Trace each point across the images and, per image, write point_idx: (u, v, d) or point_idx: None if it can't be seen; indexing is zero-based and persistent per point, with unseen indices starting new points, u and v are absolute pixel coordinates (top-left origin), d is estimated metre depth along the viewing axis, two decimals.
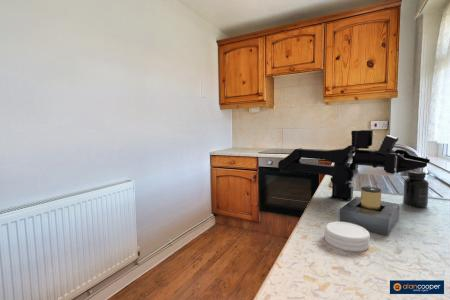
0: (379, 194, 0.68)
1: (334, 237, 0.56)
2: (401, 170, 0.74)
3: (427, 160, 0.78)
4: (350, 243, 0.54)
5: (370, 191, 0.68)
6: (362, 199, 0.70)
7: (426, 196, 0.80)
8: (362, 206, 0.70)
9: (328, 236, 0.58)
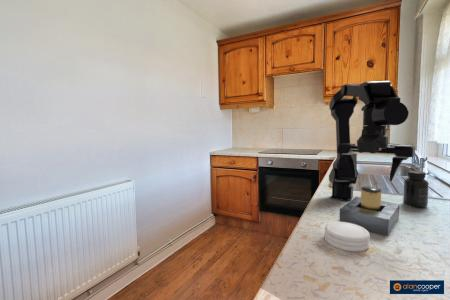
0: (379, 194, 0.68)
1: (334, 237, 0.56)
2: None
3: (390, 178, 0.67)
4: (350, 243, 0.54)
5: (370, 191, 0.68)
6: (362, 199, 0.70)
7: (426, 196, 0.80)
8: (362, 206, 0.70)
9: (328, 236, 0.58)
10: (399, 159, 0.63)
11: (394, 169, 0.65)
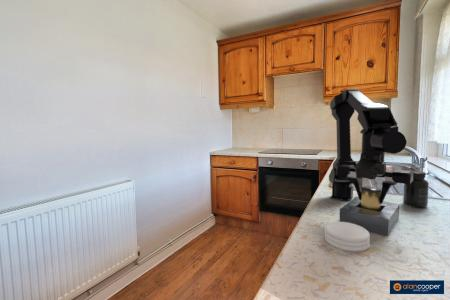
0: (379, 194, 0.68)
1: (334, 237, 0.56)
2: None
3: (380, 201, 0.69)
4: (350, 243, 0.54)
5: (370, 191, 0.68)
6: (362, 199, 0.70)
7: (426, 196, 0.80)
8: (362, 206, 0.70)
9: (328, 236, 0.58)
10: (388, 184, 0.65)
11: (384, 193, 0.67)
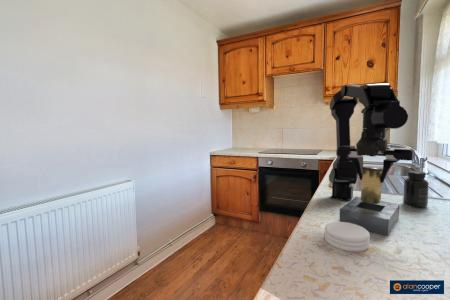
0: (380, 173, 0.67)
1: (334, 237, 0.56)
2: None
3: None
4: (350, 243, 0.54)
5: (371, 170, 0.67)
6: (363, 178, 0.70)
7: (426, 196, 0.80)
8: (363, 186, 0.70)
9: (328, 236, 0.58)
10: (390, 162, 0.64)
11: (385, 171, 0.66)
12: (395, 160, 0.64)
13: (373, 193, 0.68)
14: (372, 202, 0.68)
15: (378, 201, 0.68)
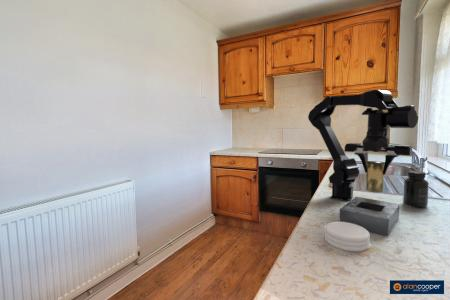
0: (383, 166, 0.79)
1: (334, 237, 0.56)
2: None
3: None
4: (350, 243, 0.54)
5: (375, 163, 0.79)
6: (368, 171, 0.81)
7: (426, 196, 0.80)
8: (368, 177, 0.81)
9: (328, 236, 0.58)
10: (391, 156, 0.75)
11: (387, 165, 0.78)
12: (395, 155, 0.75)
13: (376, 183, 0.79)
14: (375, 191, 0.79)
15: (381, 190, 0.79)
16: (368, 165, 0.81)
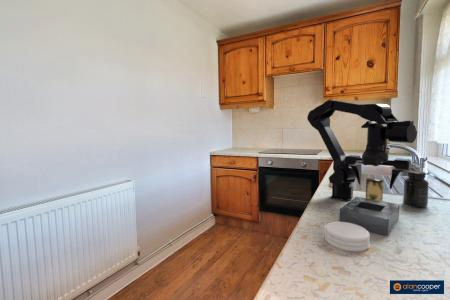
0: (382, 184, 0.79)
1: (334, 237, 0.56)
2: None
3: (390, 187, 0.78)
4: (350, 243, 0.54)
5: (374, 181, 0.79)
6: (367, 188, 0.82)
7: (426, 196, 0.80)
8: (367, 194, 0.82)
9: (328, 236, 0.58)
10: (397, 171, 0.74)
11: (393, 179, 0.77)
12: (402, 170, 0.74)
13: None
14: None
15: None
16: (367, 183, 0.81)
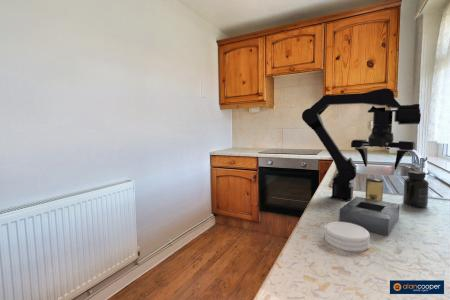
0: (381, 184, 0.79)
1: (334, 237, 0.56)
2: None
3: None
4: (350, 243, 0.54)
5: (374, 181, 0.79)
6: (367, 188, 0.82)
7: (426, 196, 0.80)
8: (367, 194, 0.82)
9: (328, 236, 0.58)
10: (402, 152, 0.79)
11: (398, 160, 0.81)
12: (406, 150, 0.78)
13: None
14: None
15: None
16: (367, 183, 0.81)
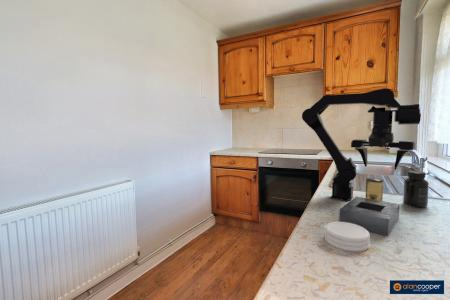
0: (381, 184, 0.79)
1: (334, 237, 0.56)
2: None
3: None
4: (350, 243, 0.54)
5: (374, 181, 0.79)
6: (367, 188, 0.82)
7: (426, 196, 0.80)
8: (367, 194, 0.82)
9: (328, 236, 0.58)
10: (402, 152, 0.79)
11: (398, 160, 0.81)
12: (406, 150, 0.78)
13: None
14: None
15: None
16: (367, 183, 0.81)
